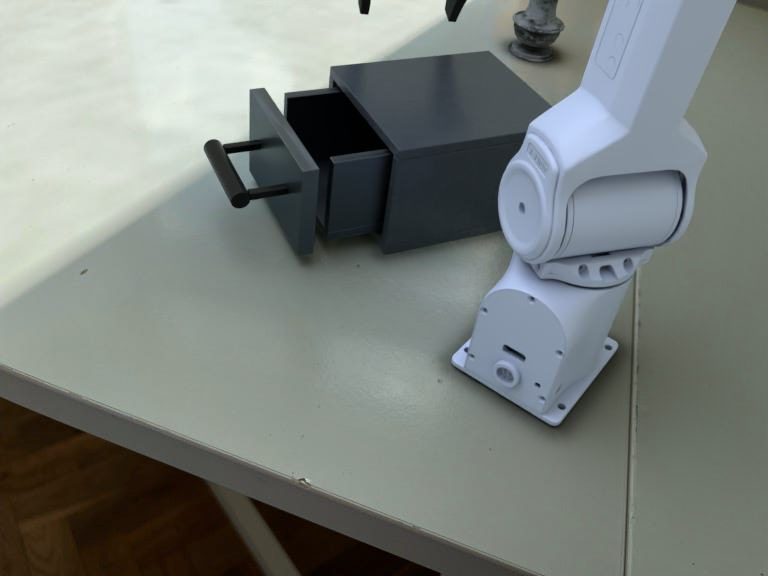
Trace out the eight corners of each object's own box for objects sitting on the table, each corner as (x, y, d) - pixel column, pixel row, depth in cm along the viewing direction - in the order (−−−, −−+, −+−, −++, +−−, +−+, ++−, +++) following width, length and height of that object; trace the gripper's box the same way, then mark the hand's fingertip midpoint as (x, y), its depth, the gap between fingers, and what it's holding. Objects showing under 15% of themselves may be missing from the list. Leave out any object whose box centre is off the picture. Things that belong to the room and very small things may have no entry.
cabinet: (384, 254, 59) (399, 150, 53) (322, 164, 67) (330, 65, 61) (543, 221, 65) (574, 124, 59) (469, 142, 73) (489, 50, 67)
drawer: (241, 268, 55) (240, 180, 50) (197, 178, 62) (193, 94, 57) (460, 225, 61) (478, 144, 57) (397, 148, 69) (409, 71, 64)
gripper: (521, -167, 61) (479, -5, 71) (337, -192, 58) (320, -20, 69) (544, -129, 57) (495, 38, 67) (345, -154, 54) (325, 24, 64)
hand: (407, 12), depth 67 cm, fingers open, 7 cm apart
